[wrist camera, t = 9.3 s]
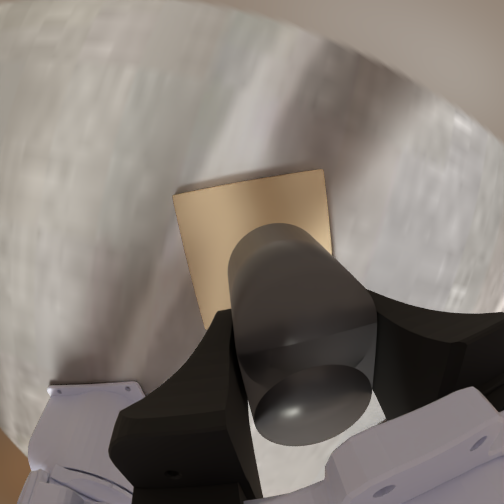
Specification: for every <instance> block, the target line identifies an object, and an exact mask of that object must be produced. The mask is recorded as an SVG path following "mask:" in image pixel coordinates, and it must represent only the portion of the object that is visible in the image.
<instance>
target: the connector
mask: <svg viewBox="0 0 504 504" xmlns="http://www.w3.org/2000/svg"><path fill="white" fill-rule="evenodd" d="M228 284H229V293H230V302H231V311H232V320H233V329H234V338H235V346H236V353H237V358H238V362H239V366H240V370H241V374H242V378H243V382H244V386H245V390H246V393H247V397H248V401H249V405H250V409H251V412H252V416H253V420H254V424H255V426H256V429H257V430H258V432H259V433H260V434H261V435H262V436H263V437H264V438H266V439H267V440H269V441H271V442H273V443H276V444H280V445H286V446H305V445H311V444H316V443H319V442H323V441H325V440H328V439H331V438H333V437H335V436H337V435H339V434H340V433H342V432H344V431H345V430H347V429H348V428H349V427H351V426H352V425H353V424H354V423H355V422H356V421H357V420H358V419H359V418H360V417H361V416H362V415H363V413H364V412H365V410H366V409H367V407H368V405H369V402H370V399H371V395H372V386H373V376H374V365H375V352H376V336H377V312H376V307H375V304H374V301H373V299H372V297H371V295H370V294H369V292H368V291H367V290H366V289H365V287H364V286H363V285H362V284H361V283H360V282H359V281H358V280H357V279H356V278H355V277H354V276H353V275H352V274H351V273H349V272H348V271H347V270H346V269H345V268H344V267H343V266H342V265H341V264H340V263H339V262H338V261H337V260H336V259H335V258H334V257H333V256H332V255H331V254H330V253H329V252H328V251H327V250H326V249H325V248H324V247H323V246H322V245H321V244H320V243H319V242H318V241H317V240H315V239H314V238H313V237H312V236H311V235H310V234H309V233H308V232H307V231H305V230H303V229H302V228H300V227H297V226H295V225H291V224H286V223H272V224H267V225H263V226H260V227H258V228H256V229H254V230H252V231H250V232H249V233H248V234H246V235H245V236H244V237H243V238H242V239H241V240H240V241H239V242H238V243H237V245H236V246H235V248H234V249H233V251H232V254H231V256H230V259H229V262H228Z"/></svg>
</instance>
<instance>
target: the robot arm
mask: <svg viewBox="0 0 504 504" xmlns="http://www.w3.org/2000/svg"><path fill="white" fill-rule="evenodd" d="M366 290H367V289H366ZM367 291H368V292H369V294H370V295H371V297H372V299H373V301H374V304H375V307H376V312H377V336H376V352H375V365H374V376H373V386H372V389H373V391H374V393H375V395H376V397H377V399H378V401H379V404H380V406H381V408H382V410H383V412H384V415H385V417H386V419H387V422H384V423H381V424H379V425H376V426H373V427H370V428H368V429H366V430H364V431H362V432H360V433H358V434H356V435H354V436H352V437H350V438H349V439H347V440H346V441H345V442H344V443H342V444H341V445H340V446H339V447H338V448H336V449H335V450H334V451H333V452H332V454H331V456H330V458H329V460H328V462H327V464H326V466H325V479H324V480H322V481H320V482H317V483H315V484H312V485H310V486H307V487H305V488H302V489H299V490H297V491H294V492H291V493H288V494H283V495H278V496H273V497H267V498H263V495H262V490H261V485H260V480H259V475H258V470H257V464H256V459H255V454H254V448H253V443H252V437H251V431H250V425H249V415H248V397H247V393H246V390H245V386H244V382H243V378H242V374H241V370H240V366H239V362H238V358H237V353H236V346H235V338H234V329H233V320H232V311H231V309H226V310H220V311H217V313H216V314H215V316H214V318H213V320H212V322H211V324H210V326H209V328H208V330H207V332H206V334H205V335H204V337H203V339H202V341H201V342H200V344H199V345H198V347H197V348H196V349H195V351H194V352H193V354H192V355H191V356H190V358H189V359H188V360H187V361H186V363H185V364H184V365H183V366H182V367H181V368H180V369H179V370H178V371H177V372H176V373H175V374H174V375H173V376H172V377H170V378H169V379H168V380H167V381H166V382H165V383H164V384H162V385H161V386H160V387H159V388H157V389H156V390H155V391H153V392H152V393H150V394H149V395H147V396H146V397H145V395H144V393H143V391H142V389H141V387H140V385H139V384H138V383H137V382H134V381H129V382H117V383H102V384H82V385H49V386H48V387H47V392H48V393H49V395H50V396H51V397H50V399H49V401H48V403H47V405H46V407H45V409H44V411H43V413H42V415H41V417H40V419H39V421H38V423H37V425H36V427H35V429H34V432H33V434H32V436H31V438H30V441H29V446H28V459H29V464H30V467H31V470H32V471H31V472H30V474H29V476H28V478H27V480H26V482H25V484H24V486H23V489H22V491H21V494H20V497H19V499H18V502H17V504H504V313H503V312H497V313H483V314H462V313H449V312H441V311H435V310H429V309H425V308H420V307H416V306H412V305H408V304H405V303H402V302H399V301H396V300H393V299H390V298H388V297H385V296H382V295H380V294H377V293H375V292H372V291H370V290H367ZM127 387H129V388H127Z"/></svg>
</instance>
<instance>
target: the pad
mask: <svg viewBox="0 0 504 504" xmlns="http://www.w3.org/2000/svg"><path fill="white" fill-rule="evenodd" d="M172 198H173V202H174V207H175V211H176V216H177V220H178V225H179V229H180V233H181V238H182V242H183V246H184V250H185V255H186V259H187V263H188V267H189V271H190V275H191V279H192V283H193V286H194V290H195V294H196V298H197V302H198V305H199V309H200V313H201V316H202V320H203V324H204V327H205V329H208V328H209V326H210V324H211V322H212V320H213V318H214V316H215V314H216V313H217V311H220V310H226V309H231V302H230V293H229V284H228V262H229V259H230V256H231V254H232V251H233V249H234V248H235V246H236V245H237V243H238V242H239V241H240V240H241V239H242V238H243V237H244V236H245V235H246V234H248V233H249V232H250V231H252V230H254V229H256V228H258V227H260V226H263V225H267V224H272V223H286V224H291V225H295V226H297V227H300V228H302V229H303V230H305V231H307V232H308V233H309V234H310V235H311V236H312V237H313V238H314V239H315V240H317V241H318V242H319V243H320V244H321V245H322V246H323V247H324V248H325V249H326V250H327V251H328V252H329V253H330V254H331V255H332V249H331V237H330V226H329V215H328V205H327V196H326V187H325V179H324V171H323V170H322V169H318V170H311V171H304V172H297V173H290V174H284V175H277V176H271V177H265V178H259V179H253V180H247V181H242V182H236V183H231V184H225V185H220V186H215V187H210V188H205V189H200V190H195V191H190V192H185V193H180V194H176V195H173V196H172Z"/></svg>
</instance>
